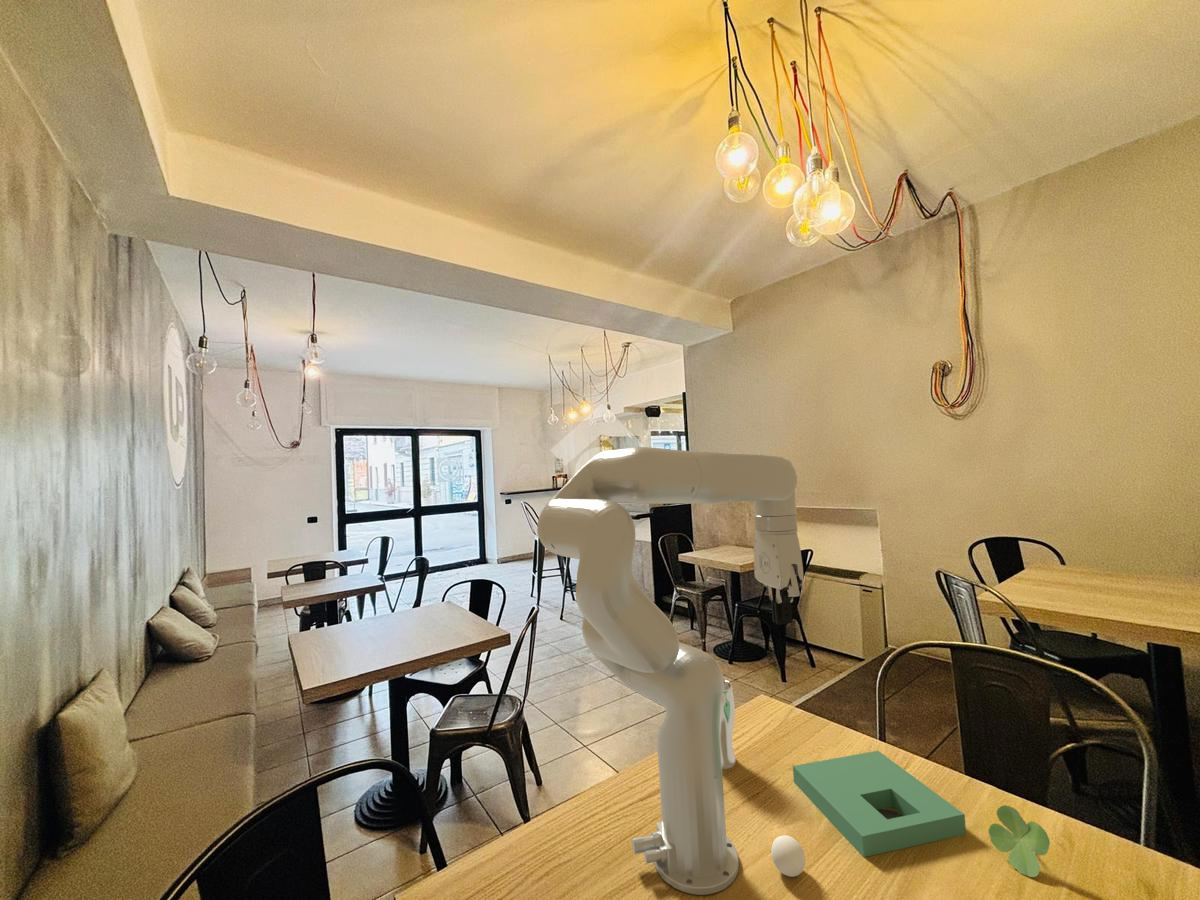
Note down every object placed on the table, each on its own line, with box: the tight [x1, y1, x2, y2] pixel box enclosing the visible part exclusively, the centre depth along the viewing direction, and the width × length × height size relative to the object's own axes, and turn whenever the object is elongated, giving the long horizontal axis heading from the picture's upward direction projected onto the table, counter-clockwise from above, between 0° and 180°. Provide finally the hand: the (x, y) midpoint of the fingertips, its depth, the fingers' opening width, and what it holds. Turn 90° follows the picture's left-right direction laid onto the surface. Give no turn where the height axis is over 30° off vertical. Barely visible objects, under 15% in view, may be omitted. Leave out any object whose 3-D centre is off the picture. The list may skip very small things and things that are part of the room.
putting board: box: [792, 750, 967, 858], centre depth 83 cm, size 18×18×3 cm
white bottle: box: [720, 678, 736, 770], centre depth 98 cm, size 7×7×15 cm
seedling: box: [988, 804, 1051, 878], centre depth 71 cm, size 7×8×6 cm
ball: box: [770, 834, 806, 878], centre depth 70 cm, size 5×5×5 cm
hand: (782, 622), depth 91 cm, fingers closed
